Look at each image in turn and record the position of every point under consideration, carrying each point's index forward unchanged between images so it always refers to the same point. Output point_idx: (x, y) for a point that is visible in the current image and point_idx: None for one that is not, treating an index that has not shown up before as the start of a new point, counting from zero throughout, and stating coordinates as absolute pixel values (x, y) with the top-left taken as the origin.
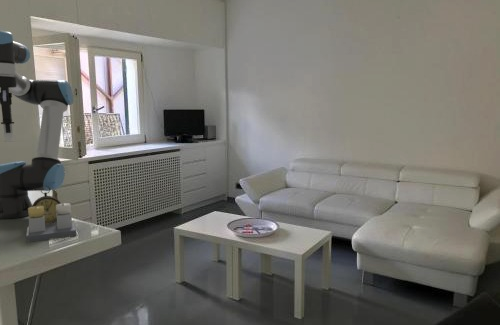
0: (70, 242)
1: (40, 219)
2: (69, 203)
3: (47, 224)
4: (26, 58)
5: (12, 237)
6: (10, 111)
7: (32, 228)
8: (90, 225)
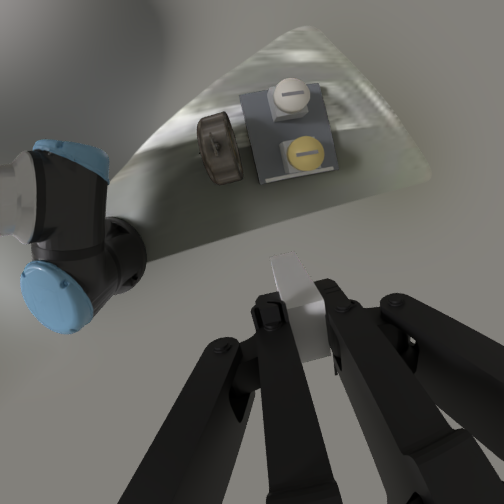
0: (356, 94)
1: None
2: (282, 80)
3: (257, 144)
4: None
5: (295, 203)
6: (312, 401)
7: None
8: (247, 66)
